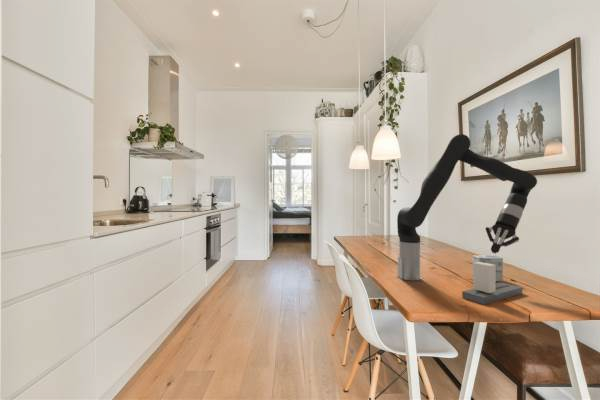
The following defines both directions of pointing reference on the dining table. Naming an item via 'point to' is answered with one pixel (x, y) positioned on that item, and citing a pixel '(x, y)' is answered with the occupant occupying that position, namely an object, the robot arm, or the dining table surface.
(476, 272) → the cap
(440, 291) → the dining table surface
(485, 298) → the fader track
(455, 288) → the dining table surface
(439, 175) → the robot arm
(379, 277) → the dining table surface
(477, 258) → the light bulb box
